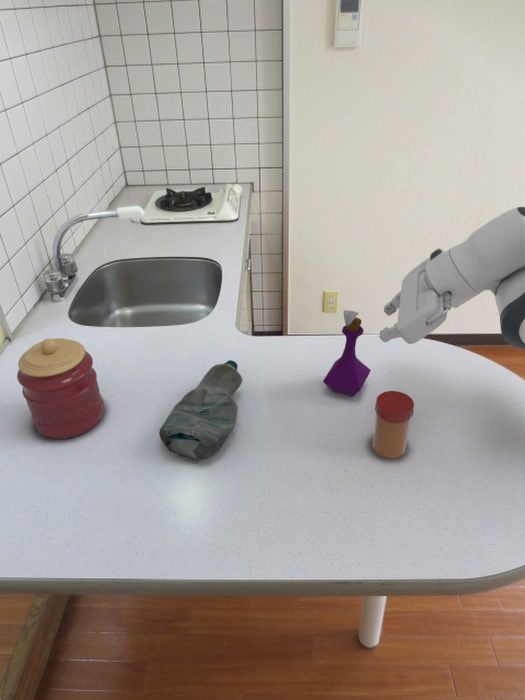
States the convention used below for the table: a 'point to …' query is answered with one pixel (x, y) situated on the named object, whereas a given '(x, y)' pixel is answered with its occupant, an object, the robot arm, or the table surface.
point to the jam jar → (390, 438)
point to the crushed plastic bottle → (204, 414)
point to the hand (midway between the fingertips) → (383, 324)
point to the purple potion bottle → (348, 361)
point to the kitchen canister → (60, 388)
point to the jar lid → (394, 406)
